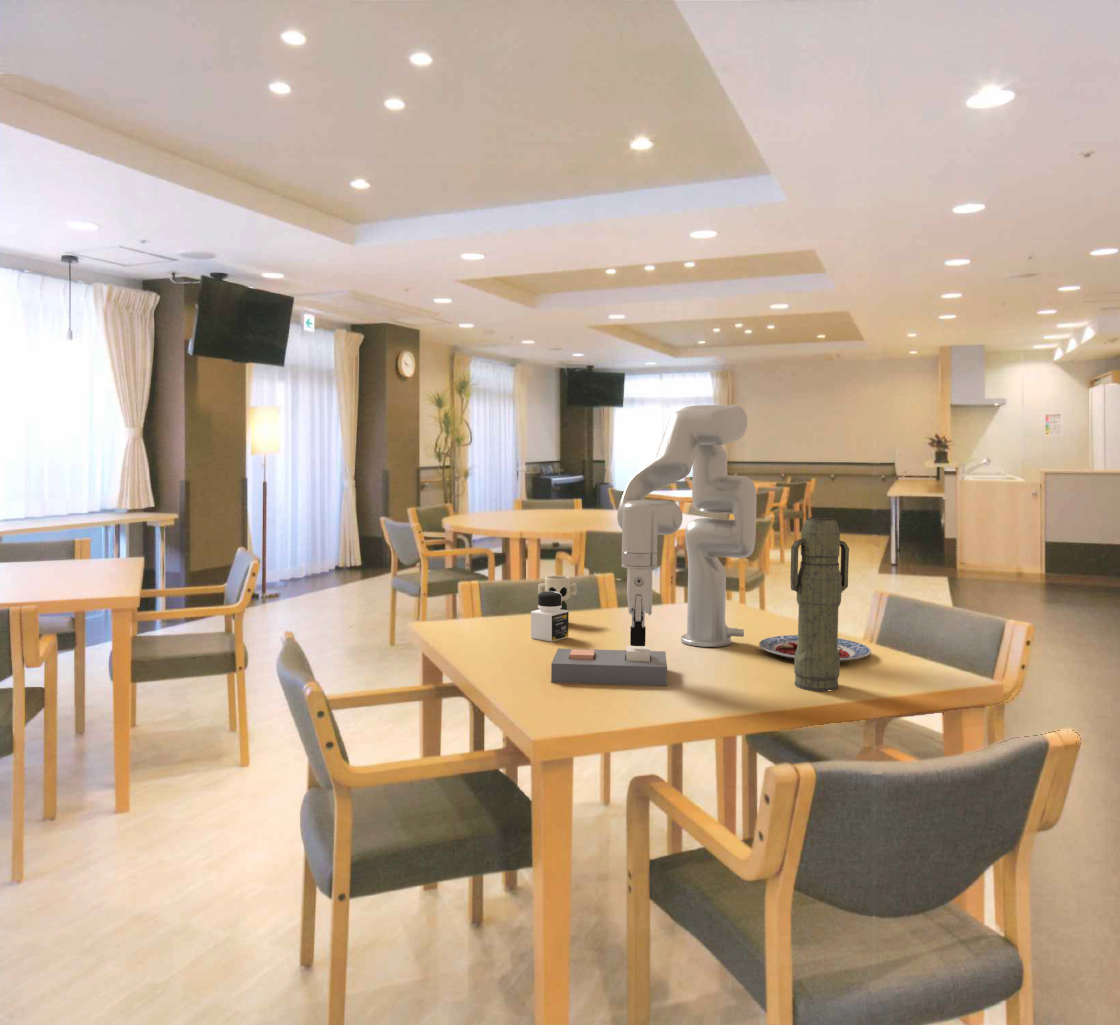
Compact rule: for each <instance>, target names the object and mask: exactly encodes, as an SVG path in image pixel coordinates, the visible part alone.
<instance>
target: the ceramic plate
mask: <svg viewBox="0 0 1120 1025" xmlns="http://www.w3.org/2000/svg"><path fill="white" fill-rule="evenodd" d="M758 643H759V644H758V645H759V647H760V648H761V649H762V650H764V651H766V652H768V653H772V654H775V655H779V656H780V657H783V658H786V659H788V660H793V661H795V652H796V649H797V647H798V634H797V635H796V634H794V635H790V634H789V635H777V636H771V637H770V636H769V637H766V638H764V639H762V640H760V641H759V642H758ZM837 649H838V652H839V655H840V663H843V662H842V661H844V662H846V661H850V660H858V659H862V658H867V656H870V655H871V652H872V650H871V649H870V648H869V647H868V646H867V645H865V644H863V643H860V642H856V641H853V640H849V639H844V638H838V641H837Z"/></svg>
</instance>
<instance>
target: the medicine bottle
mask: <svg viewBox="0 0 1120 1025" xmlns="http://www.w3.org/2000/svg"><path fill="white" fill-rule="evenodd" d="M537 596H538V598H537V608H538V609H536V610H531V611H530V638H531V639H533V640H539V641H545V642H551V643H554V642H557V641H561V640H563V639H564V640H565V639H568V638H569V610H568V609H567V610H561V609H560V608H562V595H561V594H560V593H558V592H554V591H545V590H544V591H542V592H541V593H539V594H538V595H537Z"/></svg>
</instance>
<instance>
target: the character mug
mask: <svg viewBox="0 0 1120 1025" xmlns="http://www.w3.org/2000/svg"><path fill="white" fill-rule="evenodd" d="M571 587H572V589H573V591H571ZM542 588H544V592H545V591H554V592H558V593H560V594H561V595H562V608H560V609H561V610H567V611H568V605H567V603H566V602H567V601H568V600H569V599H570V598H571V596H576V595H577V593H578V585H577V583H571V577H570V576H568V575H567V576H566V575H549V576H545V577H544V583H538V587H537V590H538V591H537V594H538V595H539V593H541V592H543V591H542V590H543V589H542Z"/></svg>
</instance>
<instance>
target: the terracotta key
mask: <svg viewBox="0 0 1120 1025" xmlns="http://www.w3.org/2000/svg"><path fill="white" fill-rule="evenodd" d="M571 649H572V650H571V653H570V659H580V660H595V650H578V649H579V648H571Z"/></svg>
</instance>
